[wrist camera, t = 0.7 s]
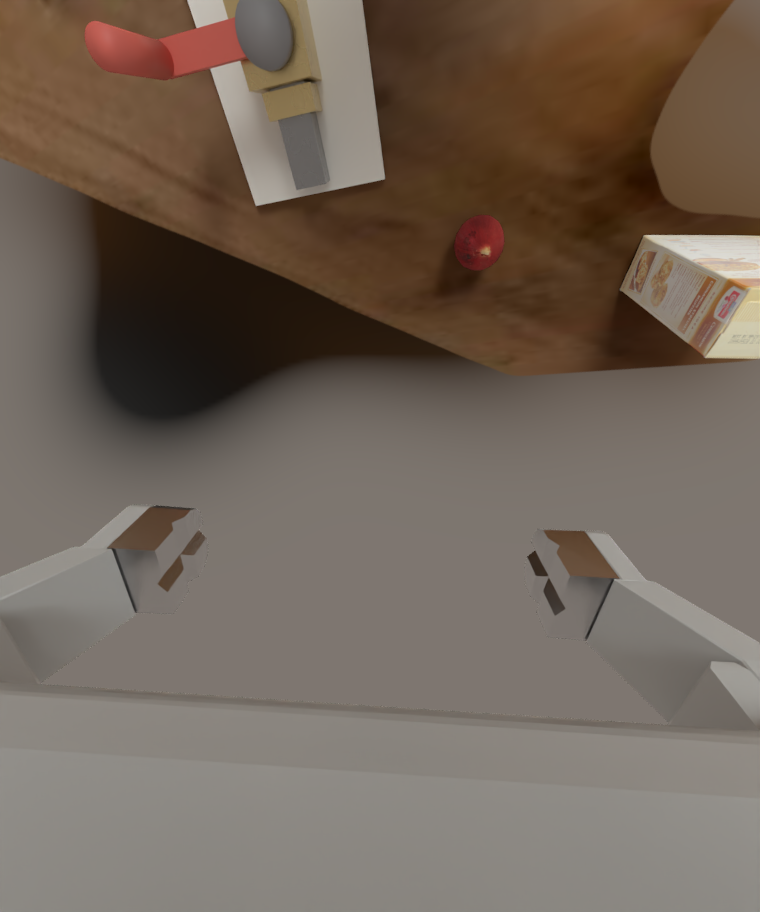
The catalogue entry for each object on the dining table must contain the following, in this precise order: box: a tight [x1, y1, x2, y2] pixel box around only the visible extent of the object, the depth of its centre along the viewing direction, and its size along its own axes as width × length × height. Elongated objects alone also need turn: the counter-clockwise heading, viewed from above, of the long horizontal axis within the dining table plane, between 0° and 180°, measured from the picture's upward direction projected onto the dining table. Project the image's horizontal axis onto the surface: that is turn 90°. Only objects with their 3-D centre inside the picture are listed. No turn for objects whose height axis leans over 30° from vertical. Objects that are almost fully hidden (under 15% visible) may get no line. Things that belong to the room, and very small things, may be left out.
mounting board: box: [187, 0, 385, 206], centre depth 36 cm, size 24×16×1 cm, turn 10°
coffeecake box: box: [620, 235, 760, 359], centre depth 41 cm, size 15×7×20 cm, turn 90°
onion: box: [454, 215, 505, 270], centre depth 44 cm, size 6×6×8 cm
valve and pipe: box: [223, 0, 330, 190], centre depth 34 cm, size 22×6×7 cm, turn 10°
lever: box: [85, 0, 293, 80], centre depth 28 cm, size 13×4×9 cm, turn 100°
